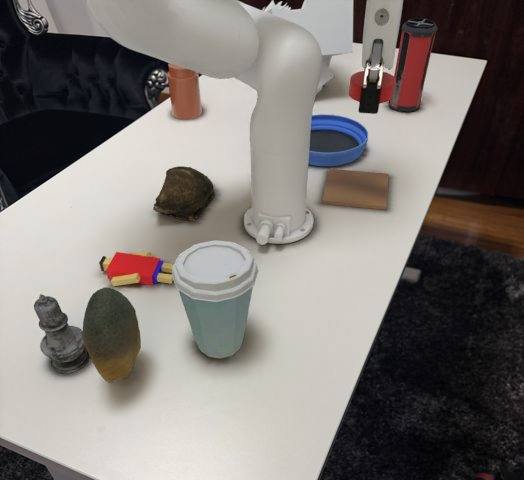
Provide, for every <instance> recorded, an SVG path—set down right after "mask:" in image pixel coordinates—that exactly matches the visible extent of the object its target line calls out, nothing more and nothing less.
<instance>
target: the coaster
mask: <svg viewBox="0 0 524 480" xmlns="http://www.w3.org/2000/svg"><path fill="white" fill-rule="evenodd" d="M388 184H389V173H383V172H375V171H374V172H373V171H363V170H362V171H361V170H350V169H339V168H328V171H327V175H326V179H325V185H324V190H323V196H322V199H321V204H324V205H333V206H342V207H343V206H344V207H351V208H353V207H354V208H363V209H374V210H384V211H385V210H387V208H388V207H387V206H388V204H387V203H388V186H389V185H388Z"/></svg>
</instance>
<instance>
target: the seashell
mask: <svg viewBox="0 0 524 480" xmlns="http://www.w3.org/2000/svg"><path fill="white" fill-rule="evenodd" d="M158 193H159V194H158V195H157V197H155V203H154V204H153V209H152V210H153V211H155V213H158V214H160V215H163V216H169V217H173V218H176V219H180V220H182V221H195V220H197V219H198V218H199V216H200V214H201V213H202V212H203V211H204V209H205V208H206V206H207V205H208V203H210V202H211V201H212V200H213V199H214V197H215V196H216V193H215V188H214V183H213V182H212V180H211V179H210V178H209V176H208V175H205V174H204V173H203V172H201V171H199V170H197V169H195V168H193V167H191V166H182V165H181V166H180V165H179V166H174V167H171V168H168V169H167V170H166V171H165V178H164V181H163V184H162V186H161V189H160V192H158Z"/></svg>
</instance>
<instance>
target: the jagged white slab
mask: <svg viewBox="0 0 524 480" xmlns="http://www.w3.org/2000/svg"><path fill="white" fill-rule="evenodd" d="M282 3H283V1H278V2H277V3H276V4H275V1H274V0H271V1H270V3H269V4H268V5H267V6H266V7H263V8H262V9H261V10H262V11H264V12H267V13H269V14H272V15H274V16H278V17H281V18H283V19H286V20H288V21H291V22H293V23H296V24H298V25H300V26H302V27H303V28H305V29H306V30H307V31H309V32H310V33H311V34H312V35H313V36H314V38H315V39H316V40H317V42H318V44H319V46H320V49H321V53H322V71H321V76H320V80H319V84H318V88H317V91H316V95H317V94H318V93H320V92H321V91H322V90H323V86H324V85H325V84H326V83H328V82H329V81H330V80H331V79H333V78H334V77H335V75H334V74H333V72H332V71H331V70H330V69H329V68H330V65H331V61H332V58H333V57H334V56H340V55H347V54H352V53H354V50H353V49H354V0H304V1H303V3H302V6H301V8H298V9H297V8H296V9H292V7H291V6H290V7H289V5H287V4H288V2H286V3H285V4H284V5H282Z"/></svg>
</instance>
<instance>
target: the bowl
mask: <svg viewBox="0 0 524 480" xmlns="http://www.w3.org/2000/svg"><path fill="white" fill-rule="evenodd" d="M368 140H369V131H368V129H367V128H366V127H365V126H364V125H363V124H362V123H360V122H359V121H357V120H355V119H353V118H350V117H346V116H344V115H337V114H322V113H321V114H312V120H311V133H310V148H309V164H308V165H311V166H316V167H337V166H342V165H346V164H349V163H351V162H353V161H356V160H357V159H359V158H360V157H361V156H362V155H363V153H364V150H365V148H366V146H367V144H368Z"/></svg>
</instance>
